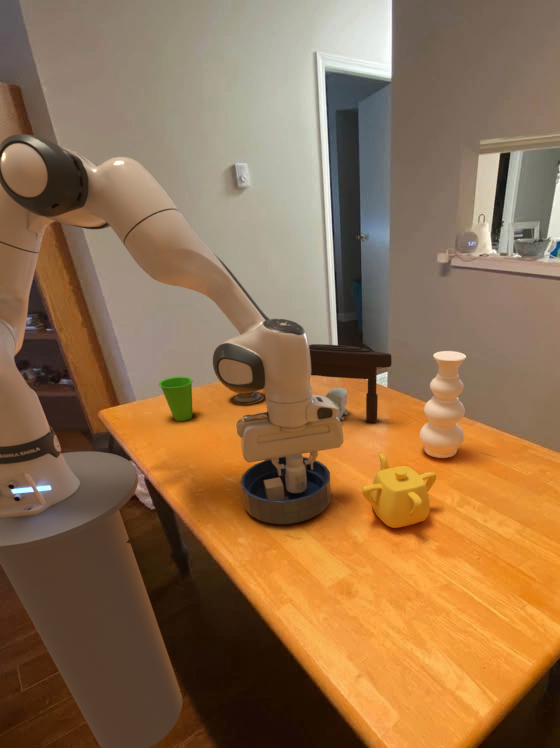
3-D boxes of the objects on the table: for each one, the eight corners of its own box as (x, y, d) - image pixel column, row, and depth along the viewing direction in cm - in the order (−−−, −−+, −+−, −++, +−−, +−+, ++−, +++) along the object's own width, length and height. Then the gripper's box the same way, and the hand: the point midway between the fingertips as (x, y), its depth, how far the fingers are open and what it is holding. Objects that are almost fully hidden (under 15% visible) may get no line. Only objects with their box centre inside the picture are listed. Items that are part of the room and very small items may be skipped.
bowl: (252, 535, 88) (248, 510, 85) (239, 487, 103) (235, 464, 99) (342, 516, 93) (341, 491, 90) (317, 472, 108) (316, 450, 105)
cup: (160, 419, 134) (151, 383, 129) (186, 409, 141) (179, 374, 135) (180, 426, 130) (171, 389, 124) (206, 415, 136) (199, 380, 131)
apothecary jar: (268, 391, 153) (262, 337, 144) (264, 405, 143) (257, 347, 133) (232, 392, 153) (223, 337, 143) (225, 406, 142) (215, 348, 133)
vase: (430, 466, 111) (439, 363, 98) (411, 446, 119) (417, 350, 106) (470, 458, 114) (484, 358, 101) (449, 440, 122) (459, 345, 109)
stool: (385, 359, 113) (261, 350, 120) (383, 437, 124) (270, 424, 131) (397, 343, 126) (284, 335, 133) (394, 414, 137) (290, 404, 144)
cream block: (268, 502, 96) (266, 488, 94) (265, 494, 99) (263, 480, 97) (284, 499, 97) (283, 485, 95) (281, 490, 100) (279, 477, 98)
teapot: (352, 521, 92) (351, 477, 86) (378, 490, 102) (379, 448, 96) (417, 540, 87) (421, 495, 81) (438, 505, 96) (443, 462, 91)
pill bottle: (310, 484, 99) (307, 452, 94) (303, 495, 95) (300, 462, 91) (290, 481, 99) (287, 450, 95) (283, 492, 96) (279, 460, 92)
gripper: (237, 423, 82) (247, 488, 89) (345, 408, 88) (346, 470, 95) (232, 410, 87) (242, 473, 94) (335, 396, 93) (337, 456, 100)
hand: (295, 471), depth 95 cm, fingers closed on pill bottle, 4 cm apart
